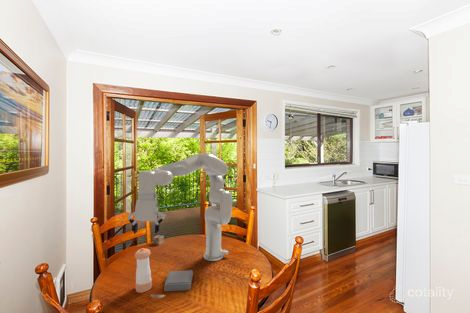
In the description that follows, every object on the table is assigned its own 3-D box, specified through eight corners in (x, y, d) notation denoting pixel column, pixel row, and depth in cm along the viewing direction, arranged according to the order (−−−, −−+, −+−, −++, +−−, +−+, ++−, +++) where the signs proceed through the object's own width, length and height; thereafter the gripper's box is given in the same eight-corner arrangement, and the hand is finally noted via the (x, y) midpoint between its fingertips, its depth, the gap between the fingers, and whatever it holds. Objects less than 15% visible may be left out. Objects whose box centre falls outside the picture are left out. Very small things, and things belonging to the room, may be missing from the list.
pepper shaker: (146, 281, 109) (145, 243, 108) (155, 286, 105) (153, 247, 104) (132, 288, 103) (131, 249, 103) (140, 294, 99) (139, 253, 98)
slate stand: (192, 275, 115) (192, 269, 115) (190, 289, 103) (190, 283, 103) (169, 276, 114) (169, 270, 114) (164, 291, 102) (164, 284, 102)
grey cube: (153, 244, 155) (153, 237, 155) (158, 241, 159) (158, 235, 159) (159, 245, 153) (159, 238, 153) (163, 242, 158) (163, 235, 158)
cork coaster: (170, 288, 105) (170, 286, 105) (166, 299, 97) (166, 297, 97) (153, 289, 104) (153, 287, 104) (148, 300, 96) (148, 298, 96)
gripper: (167, 195, 108) (166, 229, 108) (130, 195, 106) (130, 230, 106) (163, 198, 100) (163, 235, 100) (124, 198, 99) (123, 235, 99)
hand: (146, 232), depth 103 cm, fingers open, 9 cm apart
